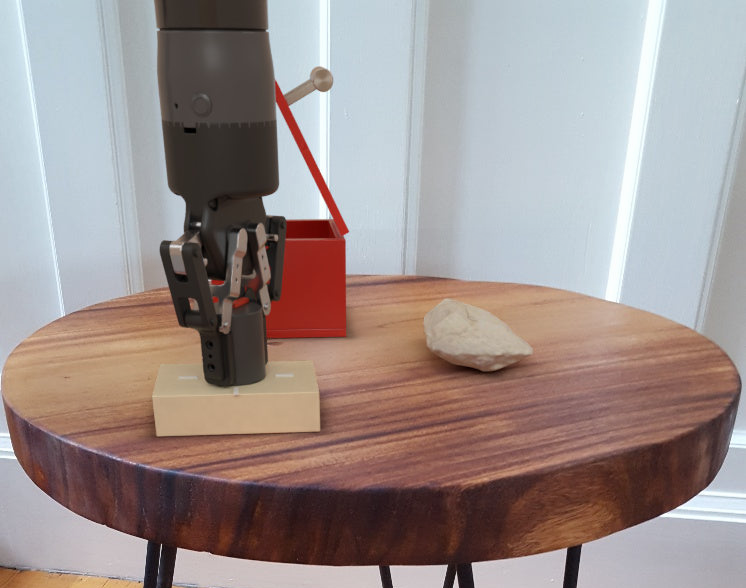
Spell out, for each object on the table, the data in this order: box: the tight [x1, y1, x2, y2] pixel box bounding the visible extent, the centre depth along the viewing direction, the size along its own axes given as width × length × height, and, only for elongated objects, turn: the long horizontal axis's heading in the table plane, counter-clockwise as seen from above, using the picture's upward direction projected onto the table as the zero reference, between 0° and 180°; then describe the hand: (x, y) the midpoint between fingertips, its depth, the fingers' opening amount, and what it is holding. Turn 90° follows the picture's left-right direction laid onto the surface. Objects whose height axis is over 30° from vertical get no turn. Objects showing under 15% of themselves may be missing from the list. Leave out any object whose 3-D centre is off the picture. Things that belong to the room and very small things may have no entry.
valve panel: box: [151, 360, 321, 437], centre depth 73 cm, size 12×9×3 cm
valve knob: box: [214, 297, 266, 385], centre depth 71 cm, size 4×4×5 cm
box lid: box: [275, 65, 350, 236], centre depth 89 cm, size 13×12×5 cm
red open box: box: [210, 218, 347, 339], centre depth 95 cm, size 13×12×9 cm
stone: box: [423, 297, 534, 372], centre depth 86 cm, size 9×13×5 cm
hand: (237, 373), depth 72 cm, fingers closed on valve knob, 4 cm apart
